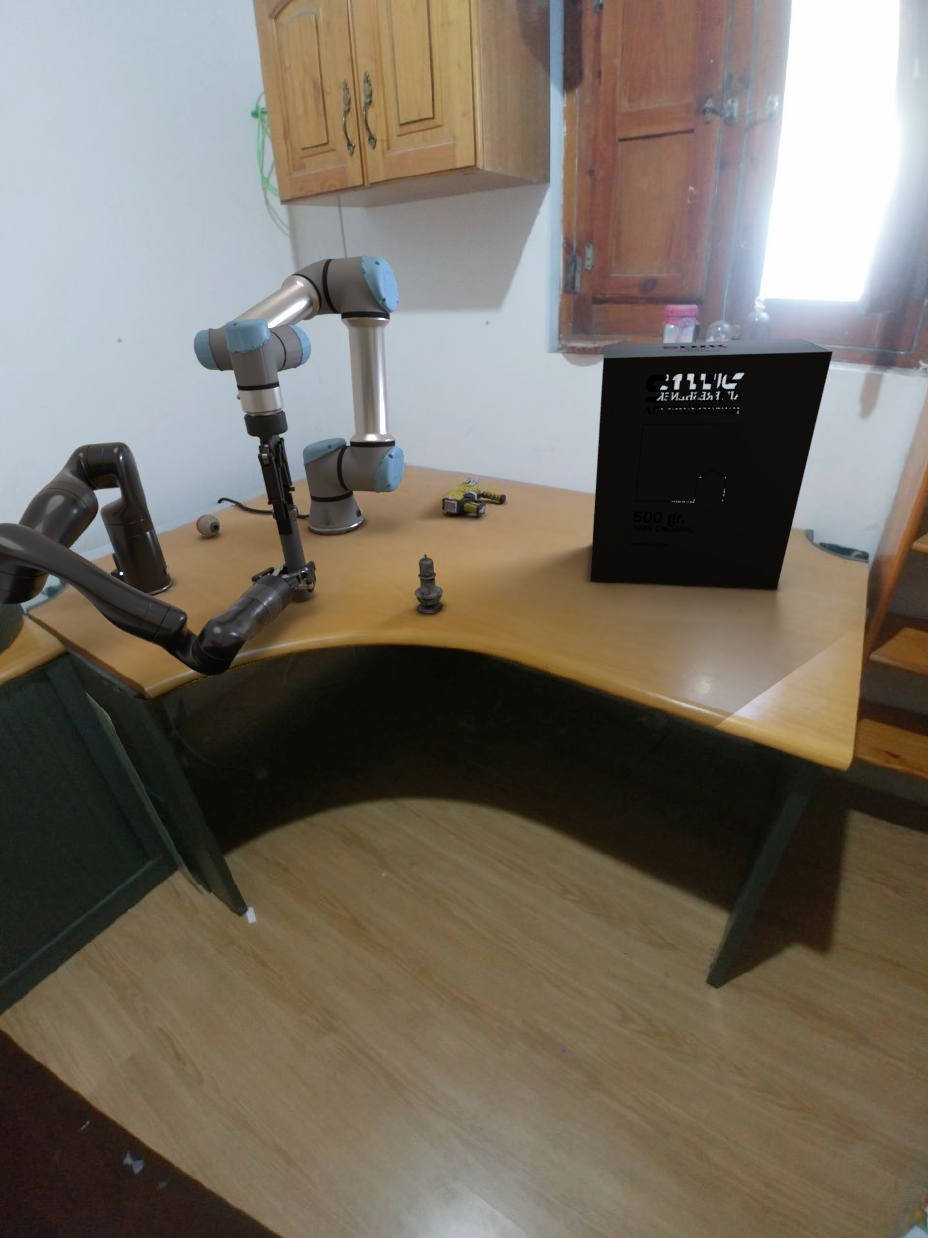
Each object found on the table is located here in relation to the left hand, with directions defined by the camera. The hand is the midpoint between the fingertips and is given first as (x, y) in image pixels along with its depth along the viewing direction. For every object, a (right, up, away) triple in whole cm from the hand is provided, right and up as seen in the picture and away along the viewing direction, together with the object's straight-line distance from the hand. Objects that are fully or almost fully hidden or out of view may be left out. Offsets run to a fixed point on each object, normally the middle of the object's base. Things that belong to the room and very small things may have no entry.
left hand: (302, 564), depth 131 cm
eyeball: (-35, +11, +36) cm, 51 cm away
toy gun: (+40, +22, +47) cm, 65 cm away
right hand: (-1, +7, -7) cm, 10 cm away
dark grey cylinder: (0, -7, +1) cm, 7 cm away
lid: (-1, +10, -9) cm, 14 cm away
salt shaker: (+28, -10, -6) cm, 30 cm away
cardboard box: (+83, 0, +5) cm, 83 cm away
